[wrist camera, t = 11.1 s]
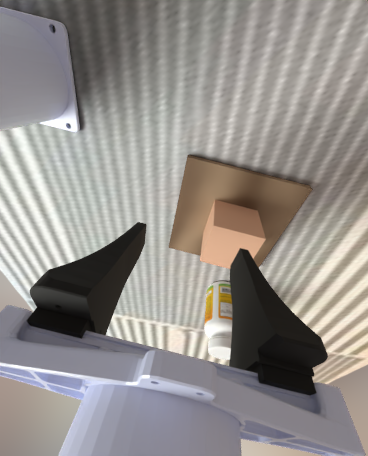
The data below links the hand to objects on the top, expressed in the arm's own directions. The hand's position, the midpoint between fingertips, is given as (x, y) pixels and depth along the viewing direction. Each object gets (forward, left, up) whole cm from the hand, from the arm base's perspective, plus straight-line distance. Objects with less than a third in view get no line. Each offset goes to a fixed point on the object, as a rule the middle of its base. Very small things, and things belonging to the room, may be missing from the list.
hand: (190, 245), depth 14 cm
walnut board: (+4, -3, -10) cm, 11 cm away
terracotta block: (+4, -3, -9) cm, 10 cm away
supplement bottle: (+8, -17, -10) cm, 21 cm away
